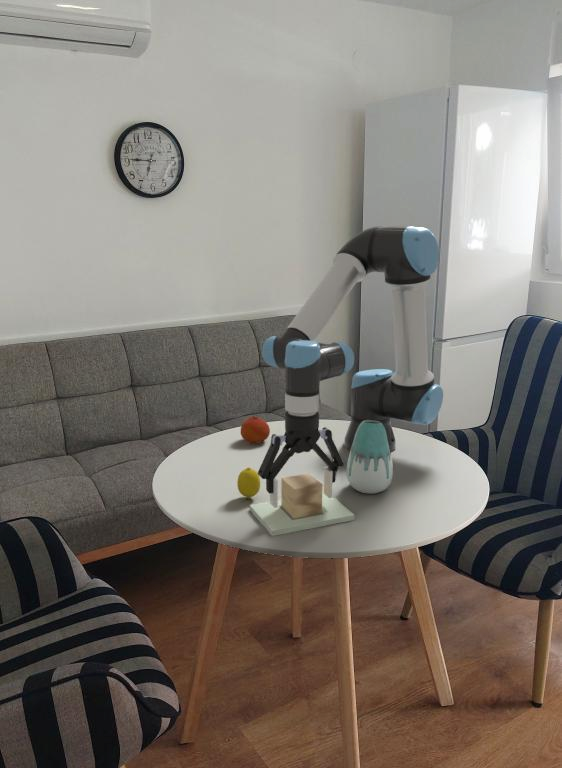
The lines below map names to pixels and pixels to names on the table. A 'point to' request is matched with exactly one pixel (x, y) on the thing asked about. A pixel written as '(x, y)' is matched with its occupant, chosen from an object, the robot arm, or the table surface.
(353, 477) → the vase
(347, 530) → the table surface
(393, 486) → the table surface
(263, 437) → the fruit
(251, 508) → the board
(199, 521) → the table surface
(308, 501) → the oak cube
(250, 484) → the lemon
